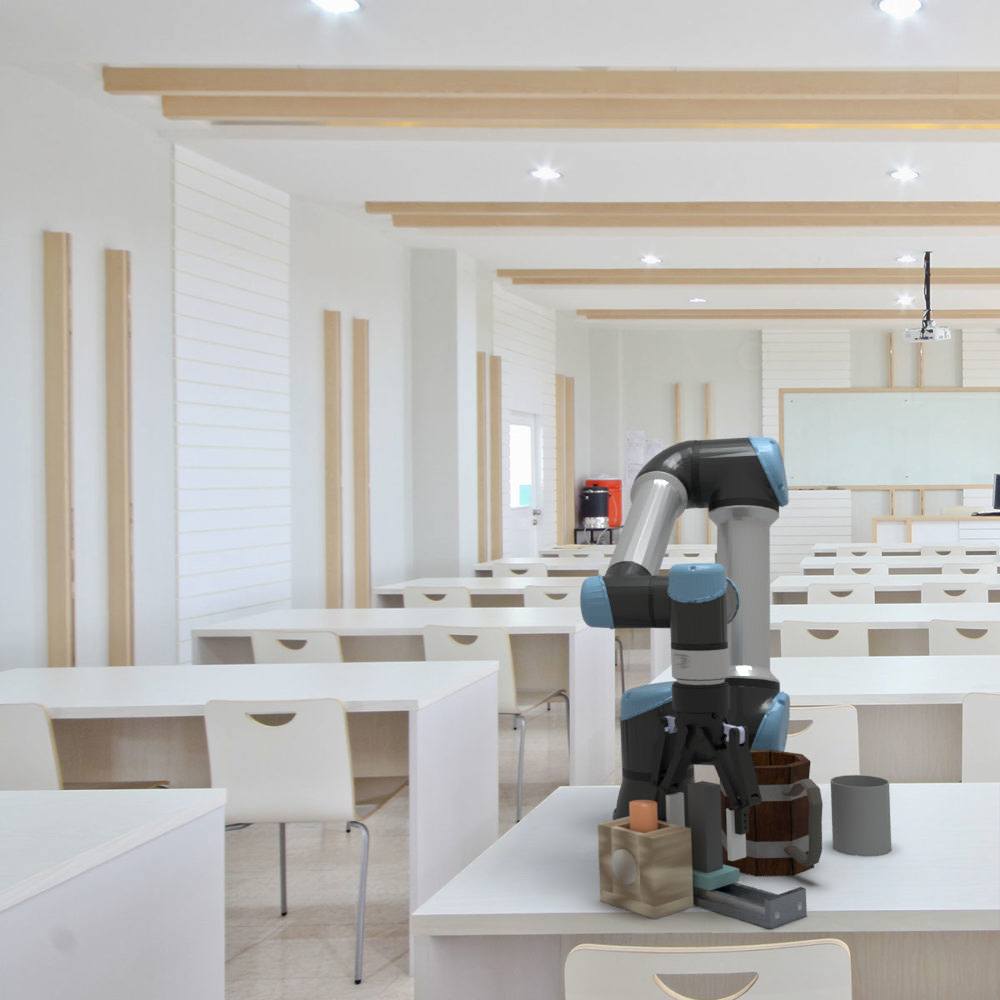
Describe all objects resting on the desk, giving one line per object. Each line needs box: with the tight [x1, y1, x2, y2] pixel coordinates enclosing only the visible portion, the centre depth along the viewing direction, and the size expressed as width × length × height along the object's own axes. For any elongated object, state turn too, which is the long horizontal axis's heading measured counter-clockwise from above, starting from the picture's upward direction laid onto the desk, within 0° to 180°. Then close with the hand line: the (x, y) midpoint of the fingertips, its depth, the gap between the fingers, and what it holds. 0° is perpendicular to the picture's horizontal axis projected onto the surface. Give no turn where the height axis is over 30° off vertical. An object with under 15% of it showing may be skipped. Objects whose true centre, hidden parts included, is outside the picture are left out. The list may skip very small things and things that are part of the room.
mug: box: [718, 750, 823, 877], centre depth 166 cm, size 20×14×15 cm
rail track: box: [693, 882, 808, 930], centre depth 151 cm, size 18×7×3 cm, turn 38°
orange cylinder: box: [629, 800, 658, 833], centre depth 152 cm, size 4×4×8 cm
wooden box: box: [597, 816, 694, 920], centre depth 152 cm, size 10×7×10 cm
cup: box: [830, 774, 892, 857], centre depth 175 cm, size 8×8×10 cm
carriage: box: [688, 780, 741, 891], centre depth 154 cm, size 6×6×13 cm
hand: (705, 850), depth 154 cm, fingers open, 10 cm apart
